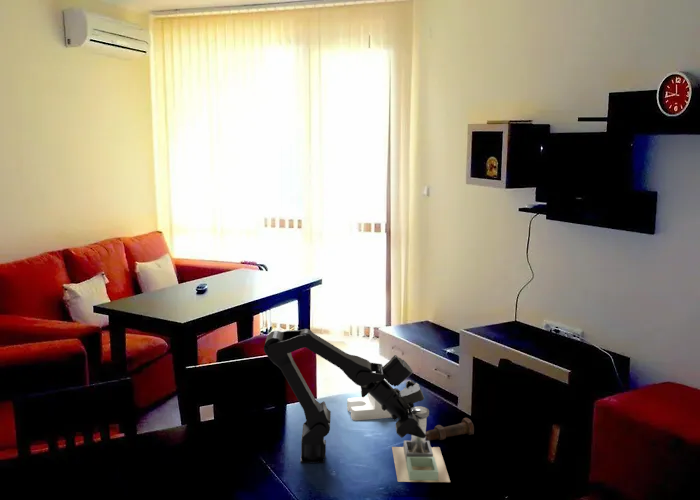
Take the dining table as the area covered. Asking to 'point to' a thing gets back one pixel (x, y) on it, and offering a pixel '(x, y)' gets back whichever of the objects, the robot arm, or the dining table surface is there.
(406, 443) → the holder
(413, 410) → the silver tall tapered cylinder
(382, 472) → the dining table surface
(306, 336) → the robot arm
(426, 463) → the socket
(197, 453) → the dining table surface
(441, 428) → the bolt
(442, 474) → the dock board
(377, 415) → the u-slot stand
